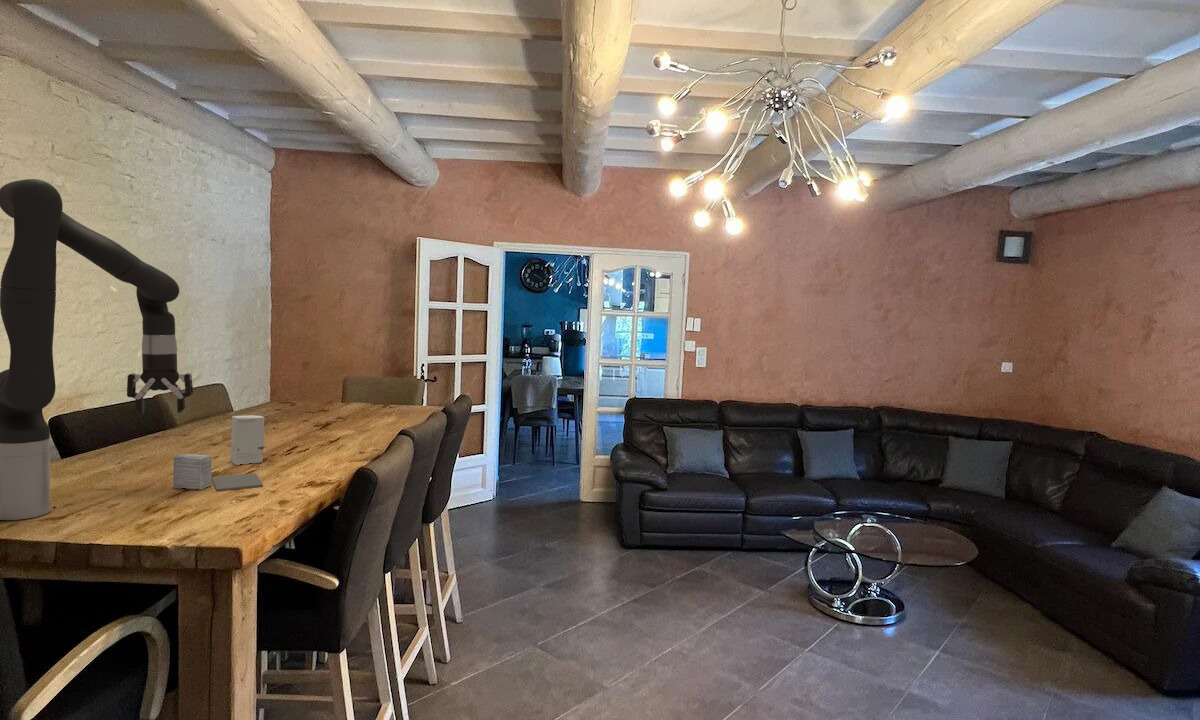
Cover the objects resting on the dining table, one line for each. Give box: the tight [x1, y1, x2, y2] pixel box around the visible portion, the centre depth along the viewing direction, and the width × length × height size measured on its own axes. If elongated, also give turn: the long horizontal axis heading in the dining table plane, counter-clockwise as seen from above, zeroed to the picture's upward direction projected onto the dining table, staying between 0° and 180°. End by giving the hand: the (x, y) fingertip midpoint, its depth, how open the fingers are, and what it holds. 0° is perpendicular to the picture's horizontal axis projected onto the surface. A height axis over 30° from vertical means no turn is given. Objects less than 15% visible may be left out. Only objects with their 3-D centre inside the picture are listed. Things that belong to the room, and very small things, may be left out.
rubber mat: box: [211, 472, 264, 492], centre depth 177 cm, size 11×14×1 cm
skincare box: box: [230, 414, 265, 466], centre depth 200 cm, size 8×6×15 cm
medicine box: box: [173, 453, 212, 491], centre depth 171 cm, size 8×4×9 cm, turn 84°
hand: (161, 412), depth 167 cm, fingers open, 8 cm apart
